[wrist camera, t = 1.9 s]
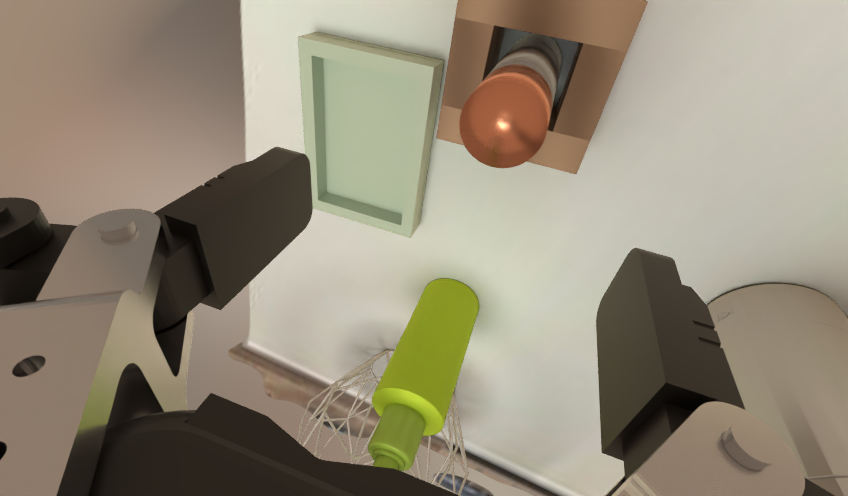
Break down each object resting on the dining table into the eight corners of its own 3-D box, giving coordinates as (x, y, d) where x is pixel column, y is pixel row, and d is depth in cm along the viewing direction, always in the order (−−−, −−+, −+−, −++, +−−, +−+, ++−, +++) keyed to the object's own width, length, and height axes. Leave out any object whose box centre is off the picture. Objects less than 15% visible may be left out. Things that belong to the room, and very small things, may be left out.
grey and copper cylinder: (570, 39, 24) (560, 91, 14) (551, 96, 26) (532, 177, 16) (514, 28, 25) (468, 71, 15) (500, 85, 27) (452, 156, 17)
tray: (444, 60, 27) (434, 67, 25) (419, 223, 36) (410, 238, 34) (316, 32, 29) (297, 36, 27) (321, 194, 38) (308, 206, 36)
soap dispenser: (429, 263, 38) (325, 464, 23) (490, 299, 38) (427, 523, 23) (406, 297, 42) (304, 490, 27) (462, 330, 42) (392, 540, 27)
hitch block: (636, -5, 22) (647, 2, 18) (577, 144, 28) (576, 174, 24) (482, -32, 24) (462, -32, 20) (455, 115, 29) (436, 138, 25)
